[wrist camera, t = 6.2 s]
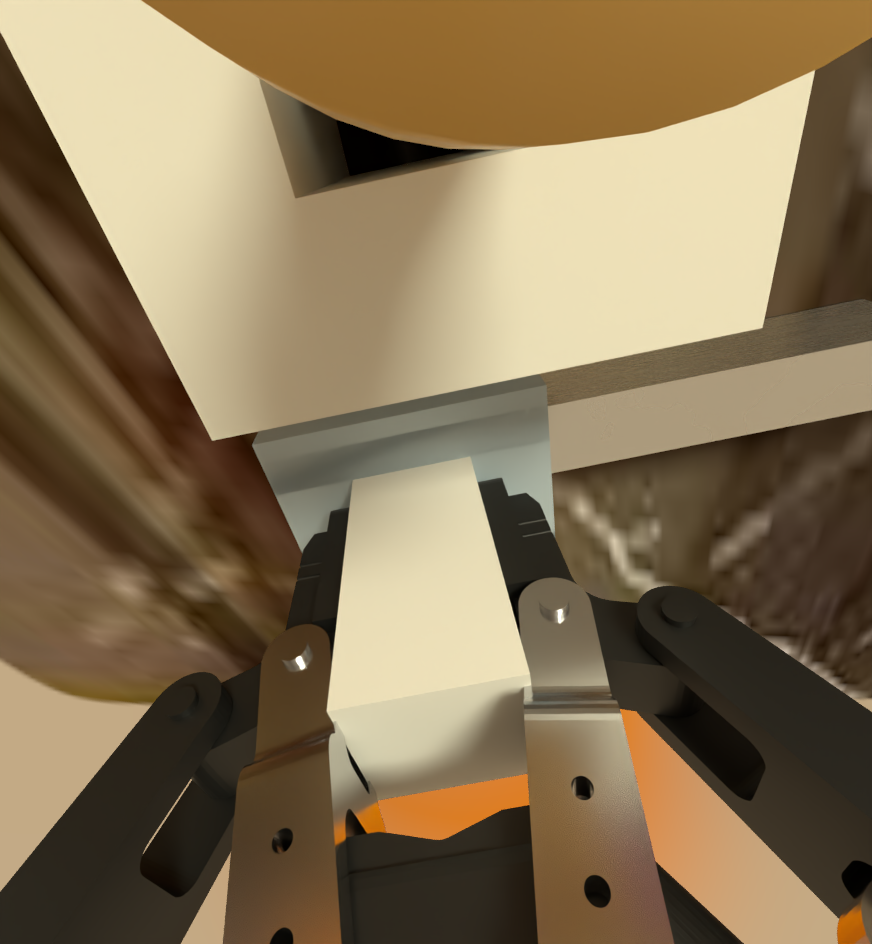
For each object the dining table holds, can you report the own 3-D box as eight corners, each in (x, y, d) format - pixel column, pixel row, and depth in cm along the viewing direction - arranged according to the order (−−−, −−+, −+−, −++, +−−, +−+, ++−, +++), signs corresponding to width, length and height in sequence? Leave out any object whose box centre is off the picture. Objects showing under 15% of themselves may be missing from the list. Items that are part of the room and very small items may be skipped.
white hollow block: (303, 294, 14) (212, 441, 7) (153, -168, 9) (-759, -1432, 2) (564, 238, 14) (762, 328, 7) (550, -266, 9) (1262, -2137, 2)
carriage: (340, 530, 18) (298, 850, 9) (282, 382, 14) (140, 676, 6) (526, 493, 17) (647, 788, 9) (510, 334, 14) (678, 574, 6)
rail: (307, 473, 18) (294, 524, 15) (285, 417, 17) (266, 463, 14) (841, 365, 17) (917, 401, 15) (862, 299, 16) (950, 325, 13)
